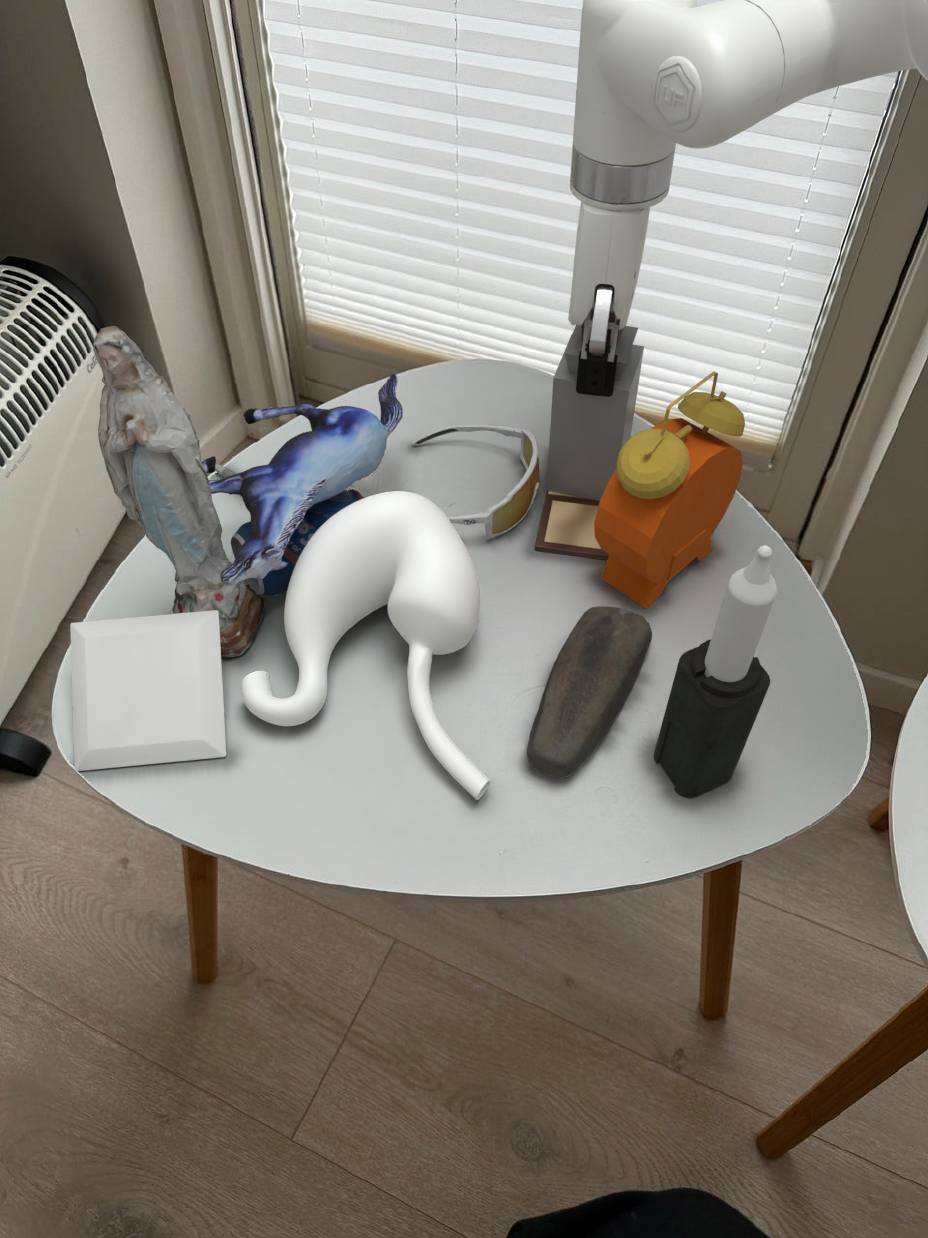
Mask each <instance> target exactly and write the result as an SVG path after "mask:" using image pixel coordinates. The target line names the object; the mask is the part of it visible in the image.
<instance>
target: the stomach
mask: <svg viewBox="0 0 928 1238" xmlns="http://www.w3.org/2000/svg"><path fill="white" fill-rule="evenodd" d="M447 517H448V516H447V515H446V514H445V512H444V511H443V510H442V509H441V508H440V507H439V506H438V505H437V504H436V503H434V502H433V501H431V500H430V499H429V498H427V497H425V496H424V495H421V494H418V493H415V492H411V491H405V490H392V491H384V492H380V493H375V494H371V495H369V496H366V497H364V498H363V499H361V500H359V501H357V502H354V503H352V504H351V505H349V506H347V507H345V508H344V509H342V510H340V511H339V512H337V513H336V514H335V515H333V516H332V517H331V518H329V519H328V520H327V521H326V522H325V523H324V524H323V525H322V526H321V527H320V528H319V529H318V530H317V531H316V532H315V533H314V535H313V536H312V537H311V539H310V540H309V541H308V543H307V544H306V546H305V548H304V549H303V551H302V553H301V555H300V557H299V559H298V561H297V563H296V565H295V568H294V570H293V573H292V576H291V579H290V582H289V586H288V590H287V591H286V595H285V599H284V600H285V601H284V610H283V611H284V612H283V621H284V622H283V624H284V631H285V636H286V640H287V643H288V646H289V648H290V650H291V653H292V655H293V656H294V659H295V661H296V663H297V666H298V667H297V668H298V673H299V674H298V682H297V686H296V689H295V692H294V694H293V695H291V696H289V697H286V698H285V697H283V698H281V697H277V696H274V693H273V689H272V684H271V676H270V674H269V673H268V671H265V670H256V671H252V672H250V673H248V674H246V675H245V676H244V677H243V678H242V680H241V684H240V689H241V690H240V691H241V697H242V700H243V703H244V705H245V707H246V708H247V709H248V710H249V712H251V713H252V714H253V715H254V716H256V717H257V718H259V719H261V720H262V721H265V722H266V723H269V724H272V725H275V726H279V727H294V726H299V725H302V724H305V723H307V722H309V721H310V720H312V719H314V717H315V716H317V714H319V712H320V711H321V710H322V708H323V707H324V705H325V703H326V700H327V696H328V670H329V669H328V668H329V664H330V663H329V662H330V660H331V659H330V658H331V655H332V653H333V651H334V649H335V647H336V645H337V644H338V642H339V641H340V640H341V638H342V637H343V636H344V635H345V634H346V633H347V632H348V631H349V630H350V629H351V628H352V627H353V626H355V625H356V624H357V623H358V622H360V621H361V620H362V619H364V618H365V617H367V616H368V615H370V614H371V613H373V612H375V611H377V610H379V609H380V608H382V607H384V606H386V605H387V615H388V618H389V620H390V622H391V624H392V625H393V627H394V628H395V629H396V631H397V632H398V633H399V635H400V636H401V637H402V639H404V641H405V642H406V643H407V644H408V646H409V651H408V660H407V669H406V670H407V671H406V672H407V675H406V676H407V687H408V688H407V689H408V699H409V704H410V709H411V711H412V714H413V717H414V719H415V722H416V724H417V726H418V728H419V731H420V733H421V735H422V738H423V739H424V742H425V744H426V746H427V747H428V749H429V750H430V751H431V753H432V754H433V756H434V757H435V759H436V760H437V761H438V762H439V763H440V765H441V766H442V767H443V768H444V770H446V772H448V774H449V775H450V776H451V777H452V778H453V779H454V780H455V781H456V782H457V783H458V784H459V785H460V786H461V787H462V788H463V789H464V790H465V791H466V792H467V793H468V794H470V795H471V796H472V797H473V798H474V799H475V800H477V801H478V800H480V799H481V798H482V797H483V795H484V794H486V791H487V789H488V788H489V786H490V784H491V780H490V779H489V778H488V777H487V776H486V775H485V774H484V773H483V771H481V769H480V768H479V767H477V766H476V764H474V762H473V761H471V760H470V759H469V758H468V756H466V754H464V753H463V751H462V750H461V749H460V748H459V747H458V746H457V744H456V743H454V741H453V740H452V739H451V738H450V736H449V735H448V733H447V732H446V730H445V729H444V727H443V726H442V724H441V722H440V721H439V718H438V716H437V713H436V710H435V707H434V702H433V699H432V694H431V689H430V676H431V670H432V669H431V667H432V662H433V655H436V656H443V655H449V654H453V653H455V652H457V651H459V650H461V649H463V648H464V647H466V646H467V645H468V644H469V643H470V641H472V638H473V636H474V634H475V631H476V628H477V625H478V620H479V616H480V607H481V588H480V581H479V577H478V573H477V570H476V569H477V568H476V566H475V564H474V561H473V558H472V557H471V554H470V552H469V551H468V549H467V547H466V545H465V543H464V541H463V540H462V538H461V536H460V535H459V533H458V531H457V530H456V528H455V526H454V524H453V523H451V522H450V520H449V519H448V518H447Z"/></svg>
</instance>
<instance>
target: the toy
mask: <svg viewBox="0 0 928 1238" xmlns="http://www.w3.org/2000/svg"><path fill="white" fill-rule="evenodd" d="M398 379H399V378H398V375H397V374H395V373H392V374H391V375H390V376H389V378H388V379H386V382H385V383H384V384H383V385H382V386H381V387H380V388H379V390H378V392H377V394H378V402H379V407H380V418H379V417H378V416H377V415H376V414H374V413H372V412H371V411H369V410H367V409H365V408H362V407H358V406H352V405H340V406H336V407H332V408H329V409H328V408H327V409H326V408H317V407H315V406H314V405H312V404H309V403H300V404H297V405H293V406H290V405H289V406H280V407H278V406H277V407H276V406H269V407H267V408H262V409H261V408H249V409H246V410H245V411H244V412H243V415H242V416H243V417H244V420H245V422H246V424H247V425H252V424H255V423H258V422H260V421H264V420H271V419H273V418H278V417H282V416H287V415H294V414H295V415H300V416H303V417H305V418H306V419H307V420H308V422H309V425H310V428H311V430H308V431H304V432H301V433H299V434H296V435H295V436H293V437H291V438H290V439H288V440H287V441H286V442H285V443H283V444H282V446H281V447H280V448H278V450H277V451H276V452H275V454H274V455H273V457H272V458H271V459H270V461H269V463H268V464H262V465H256V466H253V467H250V468H249V469H248V468H247V469H246V470H244V471H241V472H238V473H236V474H234V475H231V476H228V477H225V478H224V477H223V478H220V479H208V480H209V485H210V489H211V495H215V494H221V493H223V494H228V495H235V496H236V495H237V496H240V497H241V499H242V501H243V503H244V506H245V508H246V509H247V511H248V512H249V515H250V521H249V522H250V524H251V537H250V539H249V540H247V541H245V542H244V544H243V545H242V546H241V547H240V549H239V550H238V553H237V556H236V559H235V558H234V561H233V562H232V563H233V564H232V565H231V566H229V567H228V568H226V569H225V570H223V571H222V572H221V576H220V579H221V581H222V582H223V584H225V585H235V584H238V583H239V582H240V581H242V580H244V581H245V579H248V578H256V579H262V578H264V577H265V576H266V575H267V573H268V572H269V571H272V570H281V569H283V568H284V567H286V566H287V564H288V562H284V561H282V556H283V554H284V550H285V548H286V545H287V543H288V542H289V539H290V537H291V535H292V533H293V532H294V530H295V529H296V528H297V526H298V524H299V523H300V522H301V521H302V520H303V518H304V515H305V513H306V510H308V509H309V508H310V507H311V506H313V505H314V504H316V503H318V502H321V501H324V500H327V499H329V498H331V497H334V496H336V495H338V494H340V493H341V492H343V491H344V490H345V491H347V490H348V489H349V488H350V487H351V486H353V484H355V483H356V482H358V481H360V480H362V479H364V478H366V477H369V476H370V475H372V474H373V473H374V472H375V471H376V470H377V469H378V467H380V465H381V463H382V461H383V458H384V456H385V452H386V449H387V441H388V438H389V436H390V435H391V434H392V433H393V432H394V431H395V429H396V428H397V426H399V423H400V422H401V421H402V419H403V417H404V416H403V414H404V409H403V405H402V404H401V402H400V401H399V399H398V398H397V386H398ZM201 463H202V465H203V467H204V469H205V471H206V474H207V475H209V474H213V473H215V472H216V471H215V465H216V464H217V458H216V456H210V457H208V458H205V459H204V460H203V461H201Z"/></svg>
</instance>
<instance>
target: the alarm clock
mask: <svg viewBox="0 0 928 1238" xmlns="http://www.w3.org/2000/svg"><path fill="white" fill-rule="evenodd" d="M718 376H719V373H718V372H717V371H715V370H713V371H712V372H711V373H709V374H708V375H706V376H705V377H704V378H703V379H701V380H700V381H699V382H697V383H696V384H695V385H693V386H692V387H690V388H689V389H688V390H687V391H685V392H684V393H683V394H681V395H680V396H679V397H677V398H676V399H675V400H673V401H672V402H670V403H669V404H668V405H667V407H666V409H665V413H664V419H663V420H662V421H661V422H659V423H658V424H655V425H654V426H652V427H651V428H649V429H645V430H641V431H639V432H637V433H636V434H634V435H631V438H630V439H629V440H628V441H627V442H626V443H625V444H624V445H623V447H622V449H621V451H620V452H619V455H618V460H617V469H616V470H615V472H614V473H613V475H612V477H611V478H610V480H609V482H608V484H607V486H606V488H605V491H604V493H603V495H602V498H601V500H600V502H599V505H598V509H597V514H596V518H595V522H594V530H595V538H596V540H597V542H598V544H599V546H600V547H601V549H602V550H603V551H605V552H606V553H608V554H609V557H608V560H606V562H605V564H604V568H603V570H602V572H601V574H600V576H599V578H600V579H601V580H602V581H604V582H606V583H607V584H608V585H610V586H611V587H613V588H614V589H616V590H617V591H618V592H619V593H621V594H623V595H624V596H626V597H628V598H629V599H630V600H631V601H633V602H635V603H636V604H638V605H639V606H640V607H642V608H644V609H646V610H647V609H648V608H649V607H650V606H651V605H652V604H653V603H655V602H656V601H657V600H658V599H659V598H660V597H661V596H662V594H663V591H664V590H665V588H666V586H667V584H668V582H669V581H670V580H672V579H673V578H674V577H675V576H676V575H677V574H679V572H681V571H682V570H684V568H686V566H688V565H689V564H690V563H691V562H692V561H694V560H695V561H697V562H699V563H700V562H701V561H702V560H703V559H704V558H705V557H706V556H708V555H709V554H710V553H711V552H712V551H713V544H712V543H713V542H712V539H711V537H712V536H713V534H714V532H715V531H716V530H717V528H718V527H719V525H720V523H721V522H722V520H723V519H724V517H725V515H726V513H727V511H728V509H729V507H730V505H731V503H732V501H733V499H734V496H735V494H736V491H737V488H738V486H739V484H740V481H741V477H742V470H743V465H744V461H743V454H742V451H740V450H739V449H738V448H737V447H736V446H734V445H731V444H730V443H727V442H726V441H724V440H723V439H722V438H721V439H720V438H719V437H717V436H715V435H714V434H711V433H710V432H709V430H713V431H715V432H718V433H720V434H724V435H726V436H731V437H736V438H737V437H739V438H741V437H742V436H743V434H744V432H745V431H744V430H745V427H746V421H745V414H744V413H743V412H742V410H740V409H739V407H737V405H735V404H734V403H733V402H731V401H729V400H728V399H725V398H726V396H727V392H725V391H720V392H719V395H717V394H716V387H717V382H718ZM712 377H713V380H712V385H711V391H710V392H706V391H705V392H704V391H695V390H696V389H698V388H699V387H701V386H702V385H703V384H704V383H706V382H707V381H708V380H710V379H711V378H712ZM677 403H679V404H678V405H677V409H678V411H679V412H680V413H682V414H683V415H684V416H685V417H687V418H688V419H690V420H692V421H693V422H696V423H698V424H699V425H701V426H702V428H701V427H699V426H697V425H696V424H693V423H691V421H688V420H686V419H685V418H682V417H676V418H669V416H670V411H671V409H672V408H673V407H674V406H675V405H676V404H677Z"/></svg>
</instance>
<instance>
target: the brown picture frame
mask: <svg viewBox="0 0 928 1238" xmlns="http://www.w3.org/2000/svg"><path fill="white" fill-rule="evenodd" d="M544 496H545V497H544V502H543V506H542V510H541V515H540V520H539V525H538V528H537V529H538V530H537V535H536V539H535V545H534V551H537V552H544V553H552V554H558V555H559V554H560V555H565V556H574V557H581V558H588V559H597V560H603V561H607V560H608V557H609V554H608V553H606V552H605V551H603V550H602V549H601V547H600V546H599V544H598V542H597V540H596V538H595V530H594V522H595V518H596V514H597V509H598V505H599V502H600V501H596V500H591V499H586V498H581V497H576V496H571V495H566V494H561V493H556V492H551V491H546V493H545V495H544Z"/></svg>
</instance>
